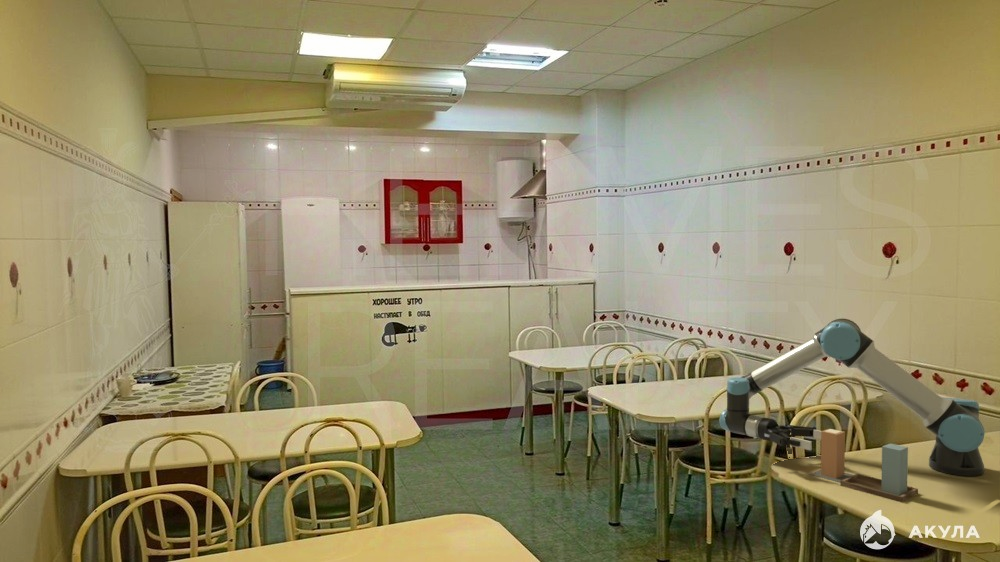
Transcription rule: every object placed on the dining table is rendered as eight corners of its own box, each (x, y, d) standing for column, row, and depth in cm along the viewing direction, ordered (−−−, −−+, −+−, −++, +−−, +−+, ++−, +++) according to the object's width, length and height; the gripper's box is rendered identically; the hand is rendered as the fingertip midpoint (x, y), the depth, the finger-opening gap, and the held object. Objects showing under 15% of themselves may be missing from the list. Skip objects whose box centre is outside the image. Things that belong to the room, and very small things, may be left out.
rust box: (829, 471, 227) (829, 428, 226) (844, 475, 223) (844, 431, 222) (820, 474, 224) (821, 431, 223) (836, 478, 220) (836, 434, 219)
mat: (825, 469, 230) (825, 467, 230) (856, 477, 222) (856, 475, 222) (809, 476, 224) (809, 474, 224) (840, 484, 216) (840, 482, 216)
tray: (857, 479, 220) (857, 473, 220) (917, 495, 206) (918, 488, 206) (840, 487, 214) (840, 480, 214) (901, 504, 200) (901, 497, 200)
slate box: (889, 489, 210) (890, 443, 209) (907, 494, 206) (907, 447, 205) (881, 493, 207) (882, 446, 206) (899, 498, 203) (900, 450, 202)
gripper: (782, 432, 250) (841, 445, 233) (741, 445, 235) (801, 461, 218) (782, 411, 249) (842, 423, 232) (741, 423, 234) (801, 437, 217)
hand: (822, 441), depth 225 cm, fingers open, 13 cm apart
